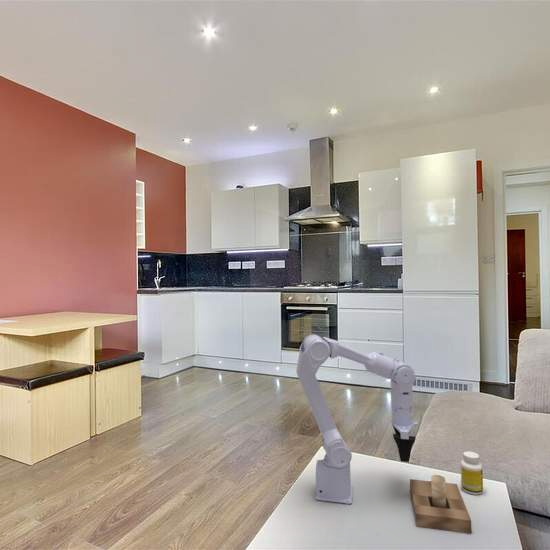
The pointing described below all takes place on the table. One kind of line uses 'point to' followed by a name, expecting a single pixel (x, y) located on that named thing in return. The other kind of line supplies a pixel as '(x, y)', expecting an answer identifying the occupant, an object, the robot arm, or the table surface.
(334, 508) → the table surface
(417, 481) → the walnut socket board
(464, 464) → the supplement bottle
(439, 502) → the beech peg
